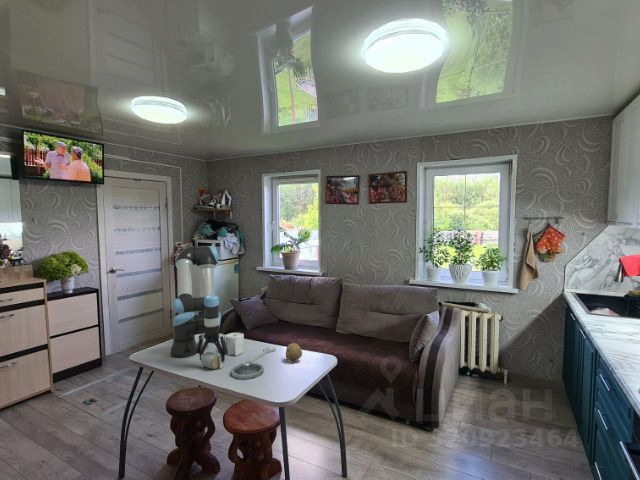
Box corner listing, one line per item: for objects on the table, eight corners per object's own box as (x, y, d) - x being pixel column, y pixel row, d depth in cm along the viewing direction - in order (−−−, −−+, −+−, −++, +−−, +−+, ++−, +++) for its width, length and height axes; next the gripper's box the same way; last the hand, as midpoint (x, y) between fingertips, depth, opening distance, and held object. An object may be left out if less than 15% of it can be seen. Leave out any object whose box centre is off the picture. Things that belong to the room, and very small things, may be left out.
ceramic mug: (211, 371, 172) (211, 357, 172) (201, 368, 177) (201, 353, 177) (227, 365, 181) (227, 351, 181) (217, 361, 186) (217, 348, 185)
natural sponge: (304, 359, 188) (304, 342, 188) (297, 365, 180) (297, 347, 180) (290, 357, 192) (290, 340, 191) (283, 363, 183) (282, 345, 183)
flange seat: (225, 378, 165) (225, 374, 165) (239, 365, 181) (239, 361, 181) (256, 380, 162) (256, 376, 162) (267, 367, 178) (267, 363, 178)
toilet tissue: (236, 347, 208) (236, 331, 208) (249, 351, 201) (249, 335, 200) (221, 352, 200) (221, 335, 199) (234, 357, 192) (234, 339, 192)
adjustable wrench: (249, 365, 182) (249, 362, 182) (240, 363, 185) (240, 360, 185) (277, 350, 203) (277, 347, 203) (268, 348, 207) (268, 345, 207)
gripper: (188, 326, 175) (189, 368, 176) (228, 328, 172) (228, 371, 172) (196, 322, 183) (196, 362, 184) (234, 324, 179) (235, 365, 180)
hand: (212, 366), depth 178 cm, fingers closed on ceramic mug, 10 cm apart
